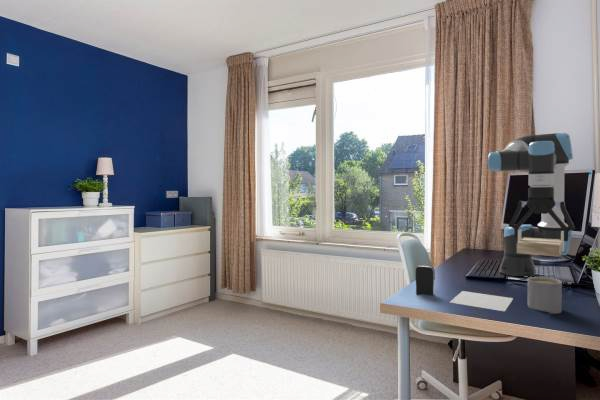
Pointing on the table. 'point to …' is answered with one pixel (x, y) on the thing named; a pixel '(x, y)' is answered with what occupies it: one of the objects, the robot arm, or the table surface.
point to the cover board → (539, 246)
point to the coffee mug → (545, 294)
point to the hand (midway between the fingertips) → (540, 249)
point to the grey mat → (482, 300)
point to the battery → (425, 280)
